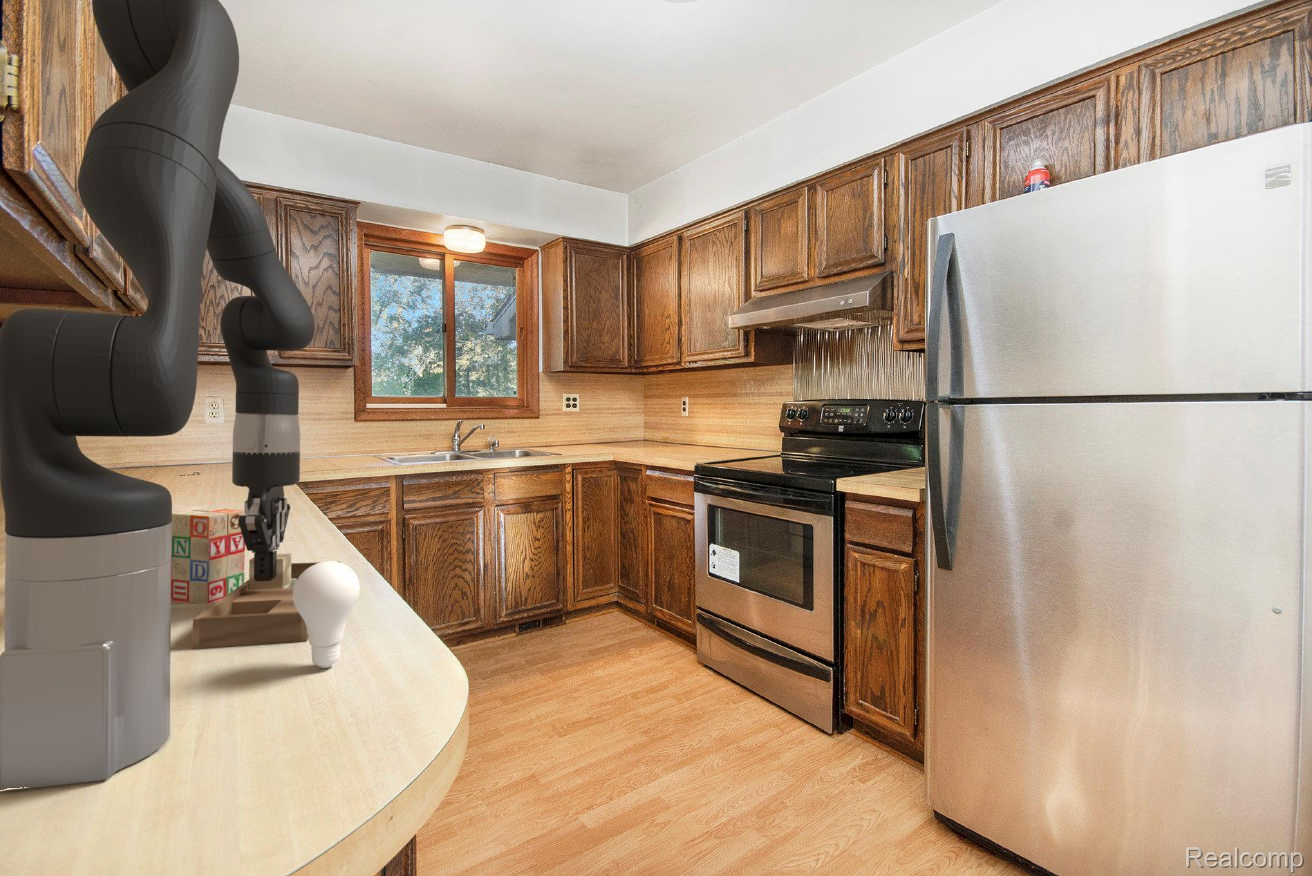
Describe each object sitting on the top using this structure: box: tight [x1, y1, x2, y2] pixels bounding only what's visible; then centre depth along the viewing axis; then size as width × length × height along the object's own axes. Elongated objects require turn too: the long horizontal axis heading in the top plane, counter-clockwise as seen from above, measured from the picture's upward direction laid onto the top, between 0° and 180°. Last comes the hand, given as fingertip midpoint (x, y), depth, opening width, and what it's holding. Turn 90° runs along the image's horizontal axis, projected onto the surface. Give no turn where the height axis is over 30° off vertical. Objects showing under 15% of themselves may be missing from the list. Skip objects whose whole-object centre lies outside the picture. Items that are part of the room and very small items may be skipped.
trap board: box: [192, 561, 341, 650], centre depth 80 cm, size 21×11×4 cm, turn 16°
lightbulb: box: [293, 560, 361, 669], centre depth 64 cm, size 6×6×11 cm
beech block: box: [248, 552, 292, 590], centre depth 85 cm, size 4×4×4 cm
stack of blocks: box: [171, 505, 246, 604], centre depth 89 cm, size 21×6×12 cm, turn 80°
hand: (265, 579), depth 81 cm, fingers closed
